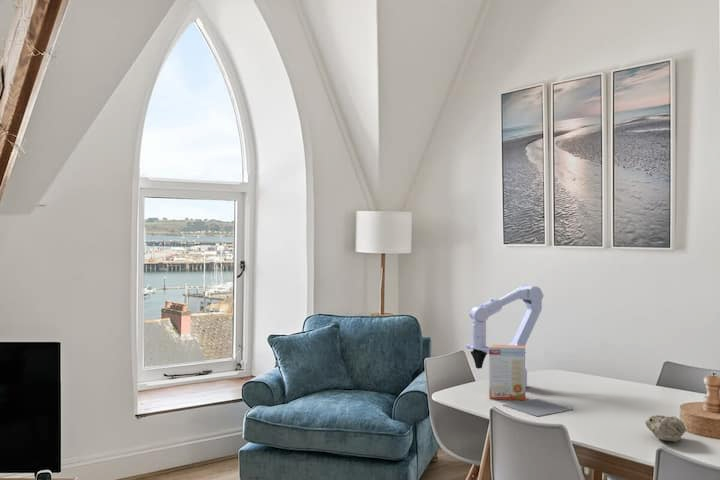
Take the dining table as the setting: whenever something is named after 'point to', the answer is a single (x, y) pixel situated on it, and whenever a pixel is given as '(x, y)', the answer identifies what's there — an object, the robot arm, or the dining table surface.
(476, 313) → the robot arm
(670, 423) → the pumice stone
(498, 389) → the cracker box
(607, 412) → the dining table surface
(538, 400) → the mat
